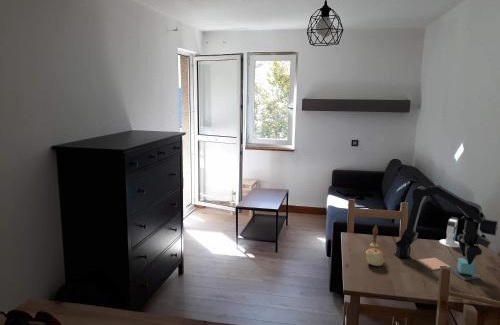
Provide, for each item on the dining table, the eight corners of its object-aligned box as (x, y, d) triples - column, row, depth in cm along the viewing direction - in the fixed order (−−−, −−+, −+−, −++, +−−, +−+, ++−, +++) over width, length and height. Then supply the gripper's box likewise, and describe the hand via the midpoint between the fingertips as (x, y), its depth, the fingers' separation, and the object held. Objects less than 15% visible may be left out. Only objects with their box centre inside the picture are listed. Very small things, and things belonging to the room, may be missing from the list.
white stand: (458, 249, 219) (462, 224, 216) (437, 244, 225) (440, 219, 223) (462, 243, 228) (465, 219, 225) (441, 238, 235) (444, 214, 232)
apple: (368, 259, 202) (370, 245, 200) (385, 264, 197) (387, 249, 195) (363, 265, 195) (364, 250, 193) (380, 270, 190) (382, 255, 188)
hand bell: (362, 252, 211) (364, 224, 208) (374, 250, 214) (376, 222, 211) (372, 258, 204) (375, 229, 201) (384, 256, 207) (387, 228, 204)
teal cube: (473, 274, 184) (475, 264, 183) (460, 273, 185) (461, 263, 184) (470, 269, 189) (471, 259, 188) (457, 267, 191) (458, 257, 190)
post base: (464, 280, 182) (466, 268, 181) (450, 271, 191) (451, 260, 190) (479, 278, 185) (481, 266, 184) (465, 269, 193) (466, 258, 192)
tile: (432, 270, 192) (432, 268, 191) (417, 260, 202) (417, 259, 202) (450, 268, 194) (450, 266, 194) (435, 259, 205) (435, 257, 205)
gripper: (496, 239, 173) (491, 271, 176) (483, 225, 190) (479, 254, 193) (469, 236, 175) (464, 267, 178) (458, 222, 193) (454, 251, 196)
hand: (466, 260), depth 186 cm, fingers open, 9 cm apart
